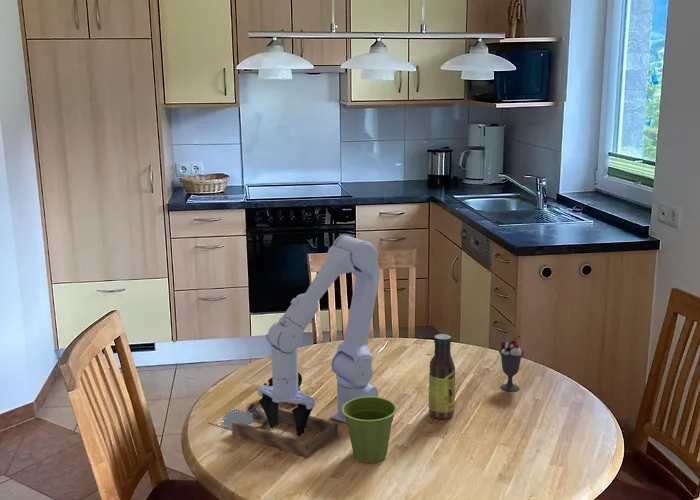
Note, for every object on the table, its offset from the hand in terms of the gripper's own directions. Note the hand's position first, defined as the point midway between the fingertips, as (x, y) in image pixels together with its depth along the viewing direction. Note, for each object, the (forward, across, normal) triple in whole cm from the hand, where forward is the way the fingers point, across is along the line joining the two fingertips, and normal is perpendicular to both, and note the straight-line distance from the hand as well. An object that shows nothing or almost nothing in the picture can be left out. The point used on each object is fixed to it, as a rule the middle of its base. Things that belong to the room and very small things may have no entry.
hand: (287, 430), depth 167 cm
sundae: (+2, +35, +51) cm, 62 cm away
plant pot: (+2, +21, +2) cm, 21 cm away
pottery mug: (+2, -12, +16) cm, 20 cm away
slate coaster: (+2, -16, 0) cm, 16 cm away
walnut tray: (+1, -1, 0) cm, 2 cm away
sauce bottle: (+2, +26, +28) cm, 38 cm away
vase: (+2, -8, 0) cm, 8 cm away
